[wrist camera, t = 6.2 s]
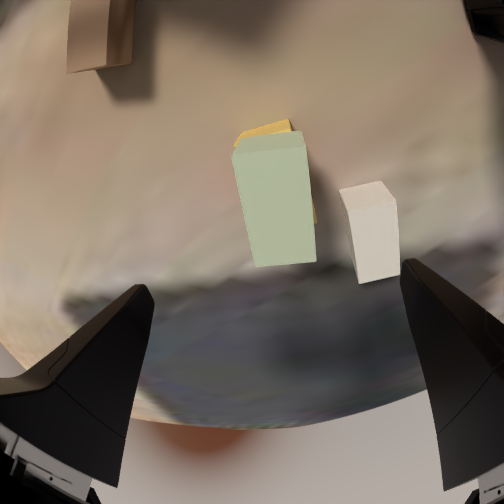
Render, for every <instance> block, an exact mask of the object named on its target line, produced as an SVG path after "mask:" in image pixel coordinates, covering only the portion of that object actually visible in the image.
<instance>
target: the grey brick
mask: <svg viewBox="0 0 504 504" xmlns="http://www.w3.org/2000/svg"><path fill="white" fill-rule="evenodd" d="M339 194H340V199H341V204H342V208H343V213H344V219H345V224H346V229H347V235H348V240H349V246H350V252H351V258H352V261H353V265H354V268H355V272H356V275H357V279H358V282H359V284H362V283H366V282H371V281H375V280H379V279H383V278H388V277H392V276H396V275H400V253H399V231H398V217H397V205H396V200H395V199H394V197H393V196H392V195H391V193H390V192H389V191H388V189H387V188H386V187H385V186H384V184H383V183H382V182H381V181H377V182H372V183H368V184H363V185H358V186H354V187H349V188H345V189H341V190H339Z"/></svg>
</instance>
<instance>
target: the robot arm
mask: <svg viewBox="0 0 504 504" xmlns="http://www.w3.org/2000/svg"><path fill="white" fill-rule="evenodd" d="M465 2H466V6H467V10H468V14H469V19H470V24H471V29H472V31H473V32H474V33H475V34H476V35H479V36H482V37H486V38H489V39H492V40H495V41H498V42H501V43H504V0H465ZM477 27H478V29H479V31H478V30H477ZM400 286H401V291H402V295H403V299H404V303H405V308H406V313H407V318H408V322H409V326H410V329H411V332H412V336H413V339H414V342H415V345H416V349H417V352H418V356H419V359H420V363H421V367H422V370H423V374H424V378H425V382H426V386H427V390H428V394H429V399H430V403H431V408H432V413H433V418H434V423H435V429H436V434H437V441H438V447H439V454H440V462H441V469H442V479H443V489H444V491H447V490H450V489H452V488H455V487H457V486H460V485H463V484H465V483H467V482H470V481H472V480H474V479H477V478H478V484H479V489H476V490H474V491H472V493H471V495H470V496H469V498H468V499H467V501H466V502H465V504H504V324H503V323H502V322H500V321H499V320H498V319H497V318H495V317H494V316H493V315H492V314H490V313H489V312H488V311H486V310H485V309H484V308H483V307H481V306H480V305H479V304H478V303H476V302H475V301H474V300H472V299H471V298H470V297H469V296H467V295H466V294H465V293H463V292H462V291H461V290H459V289H458V288H457V287H455V286H454V285H453V284H451V283H450V282H448V281H447V280H446V279H444V278H443V277H441V276H440V275H439V274H437V273H436V272H434V271H433V270H432V269H430V268H429V267H427V266H426V265H424V264H423V263H421V262H420V261H419V260H417V259H415V258H410V259H404V260H403V262H402V269H401V275H400ZM153 312H154V300H153V298H152V296H151V294H150V292H149V290H148V288H147V286H146V285H145V284H136V285H134V286H132V287H131V288H130V289H128V290H127V291H126V292H125V293H123V294H122V295H121V296H119V297H118V298H117V299H116V300H114V301H113V302H112V303H111V304H109V305H108V306H107V307H106V308H104V309H103V310H102V311H101V312H99V313H98V314H97V315H96V316H94V317H93V318H92V319H91V320H90V321H88V322H87V323H86V324H85V325H83V326H82V327H81V328H80V329H79V330H77V331H76V332H75V333H74V334H73V335H71V336H70V338H68V339H67V340H65V341H64V342H63V343H62V344H61V345H59V346H58V347H57V348H56V349H55V350H53V351H52V352H51V353H49V354H48V355H47V356H46V357H44V358H43V359H42V360H40V361H39V362H38V363H36V364H35V365H34V366H32V367H31V368H30V369H28V370H27V371H26V372H24V373H23V374H21V375H19V376H16V377H11V378H0V504H101V502H100V500H99V498H98V496H97V494H96V492H95V490H94V488H91V487H90V485H91V481H92V478H93V479H95V480H98V481H100V482H102V483H105V484H108V485H110V486H113V487H116V488H117V486H118V482H119V476H120V469H121V462H122V457H123V451H124V446H125V441H126V440H125V439H126V434H127V430H128V425H129V419H130V415H131V410H132V406H133V401H134V397H135V393H136V388H137V384H138V380H139V376H140V372H141V368H142V364H143V360H144V356H145V352H146V348H147V345H148V340H149V335H150V329H151V323H152V317H153Z"/></svg>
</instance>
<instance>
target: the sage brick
mask: <svg viewBox="0 0 504 504" xmlns="http://www.w3.org/2000/svg"><path fill="white" fill-rule="evenodd" d="M231 159H232V163H233V168H234V172H235V177H236V182H237V186H238V191H239V195H240V200H241V205H242V209H243V214H244V218H245V223H246V227H247V232H248V237H249V241H250V246H251V250H252V255H253V259H254V264H255V267H261V266H272V265H284V264H296V263H307V262H316V248H315V233H314V220H313V209H312V198H311V187H310V178H309V169H308V160H307V151H306V145H305V142H304V139H303V135H302V132H301V130H300V131H291V132H282V133H274V134H267V135H259V136H253V137H246V138H241V140H240V142H239V143H238V145H237V147H236V148H235V150H234V152H233V153H232V155H231Z"/></svg>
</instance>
